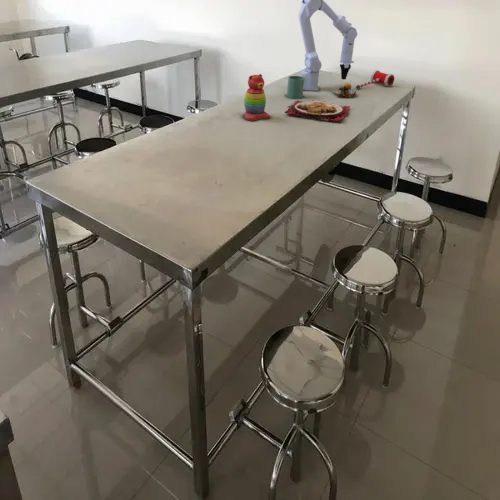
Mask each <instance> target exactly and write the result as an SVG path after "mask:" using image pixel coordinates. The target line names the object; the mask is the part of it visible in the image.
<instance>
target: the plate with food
mask: <svg viewBox="0 0 500 500" xmlns="http://www.w3.org/2000/svg"><path fill="white" fill-rule="evenodd" d="M286 108H287V110H285V111H284V114H288V115H294V116H297V117H301V116H302V117H309V115H314V116H315V115H316V116H318V120H319V121H321V120H322V121H325V122H332V123H333V122H338V121H343V120H344V118H345V116H347V114H348V112H349V111H350V108H351V106H350V105H343V106H341V105H338V104H336V103H334V102H328V101H325V100H313V99H312V100H304V101H300V100H297V101H296V102H295V103H294V104H291V105H288V106H287V107H286Z"/></svg>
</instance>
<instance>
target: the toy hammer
mask: <svg viewBox="0 0 500 500" xmlns="http://www.w3.org/2000/svg"><path fill="white" fill-rule="evenodd" d="M394 82H395V75H394V74H392V73H385V72H382V71H380V70H378V69H374V70H373V71H372V72H371V75H370V81H367V82H365V83H361V84H357V85H356V86H355V89H356V90H359V89H361V88H363V87H366V86H369V85H371V84H374V83H378V84H382V85H384V86H385V87H388V88H389V87H392V86H393V84H394Z"/></svg>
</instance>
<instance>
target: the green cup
mask: <svg viewBox="0 0 500 500" xmlns="http://www.w3.org/2000/svg"><path fill="white" fill-rule="evenodd" d="M303 87H304V77H301V75H289V76H288V78H287V90H286V97H287V98H289V99H297V100H298V99H302V98H303V96H304V90H303Z"/></svg>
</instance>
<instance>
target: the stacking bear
mask: <svg viewBox="0 0 500 500" xmlns="http://www.w3.org/2000/svg"><path fill="white" fill-rule="evenodd" d="M247 85H248V88H247V90H246V91H245V95H244V109H245V111H244V115H243V117H244V119H245V120H247V121H250V122H254V121H256V120H267V119H268V120H269V118H270V114H269V113H268V112H267V111H265V109H266V102H267V100H266V99H267V98H266V92H265V90H264V86H265V79H264V77H263V75H262V74H261V73H259V74H252V75H249V77H248V80H247Z"/></svg>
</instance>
